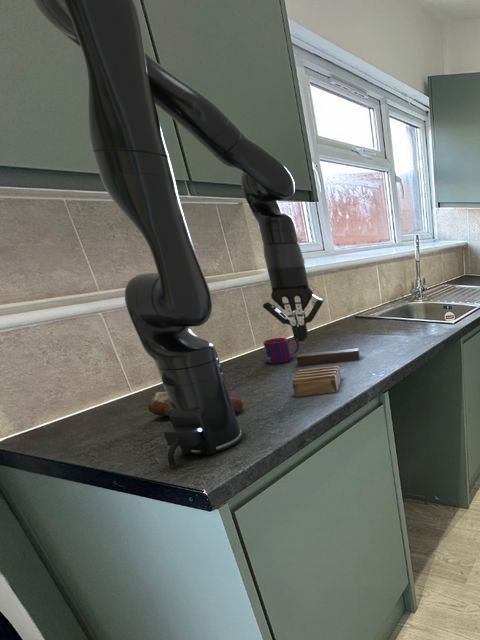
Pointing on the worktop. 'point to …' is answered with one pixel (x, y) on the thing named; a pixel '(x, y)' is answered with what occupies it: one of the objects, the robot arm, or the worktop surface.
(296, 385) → the rack
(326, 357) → the stop rail
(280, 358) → the mug
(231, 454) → the worktop surface
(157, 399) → the bread
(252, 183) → the robot arm
